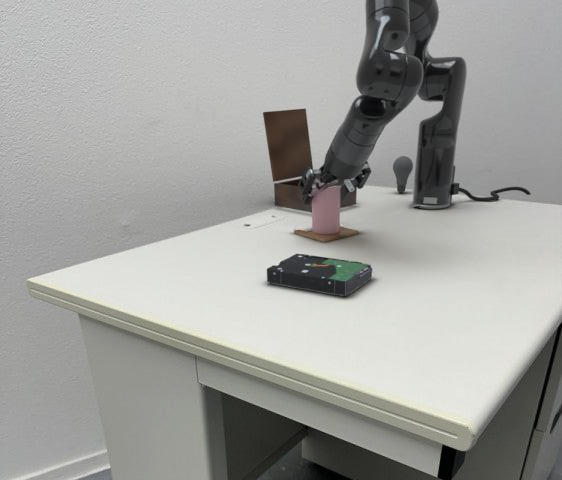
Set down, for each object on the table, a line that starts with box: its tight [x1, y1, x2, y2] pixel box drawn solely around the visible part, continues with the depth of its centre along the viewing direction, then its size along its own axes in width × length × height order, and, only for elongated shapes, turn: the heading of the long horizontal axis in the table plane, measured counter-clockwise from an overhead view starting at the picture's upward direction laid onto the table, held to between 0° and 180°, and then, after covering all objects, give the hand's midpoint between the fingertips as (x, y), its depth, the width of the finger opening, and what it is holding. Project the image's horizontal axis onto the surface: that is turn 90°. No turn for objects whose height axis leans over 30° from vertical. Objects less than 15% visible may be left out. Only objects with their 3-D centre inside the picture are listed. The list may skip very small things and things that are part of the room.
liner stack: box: [311, 183, 341, 234], centre depth 117 cm, size 6×6×10 cm
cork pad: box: [293, 226, 359, 243], centre depth 119 cm, size 10×10×1 cm
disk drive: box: [266, 253, 373, 297], centre depth 91 cm, size 10×3×15 cm
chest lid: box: [262, 108, 314, 183], centre depth 142 cm, size 16×15×1 cm
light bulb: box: [392, 155, 414, 194], centre depth 154 cm, size 6×6×10 cm
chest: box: [273, 177, 358, 213], centre depth 142 cm, size 16×15×6 cm
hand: (323, 200), depth 117 cm, fingers open, 8 cm apart
